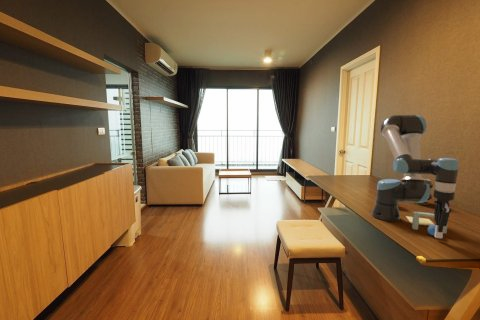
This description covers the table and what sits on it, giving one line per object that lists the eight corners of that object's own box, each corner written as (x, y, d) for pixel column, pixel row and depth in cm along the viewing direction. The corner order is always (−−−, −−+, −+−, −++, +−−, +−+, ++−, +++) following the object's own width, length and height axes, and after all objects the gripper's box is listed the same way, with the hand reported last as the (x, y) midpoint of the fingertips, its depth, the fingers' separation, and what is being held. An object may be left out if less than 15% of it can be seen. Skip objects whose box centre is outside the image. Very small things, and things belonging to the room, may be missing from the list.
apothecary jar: (428, 202, 182) (431, 178, 180) (433, 206, 171) (436, 181, 169) (409, 200, 187) (411, 177, 185) (412, 204, 176) (415, 180, 174)
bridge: (446, 233, 127) (448, 216, 126) (413, 229, 132) (415, 213, 131) (444, 231, 130) (446, 214, 129) (411, 227, 135) (413, 211, 134)
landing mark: (411, 223, 140) (411, 223, 140) (405, 216, 152) (405, 216, 152) (436, 226, 136) (436, 226, 136) (428, 219, 147) (428, 218, 147)
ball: (427, 222, 126) (425, 230, 128) (430, 228, 122) (428, 237, 124) (440, 223, 124) (437, 232, 126) (444, 230, 120) (441, 239, 122)
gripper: (460, 195, 108) (453, 244, 111) (448, 188, 120) (442, 233, 123) (440, 193, 111) (433, 241, 114) (429, 186, 123) (424, 230, 126)
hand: (438, 237), depth 119 cm, fingers closed
